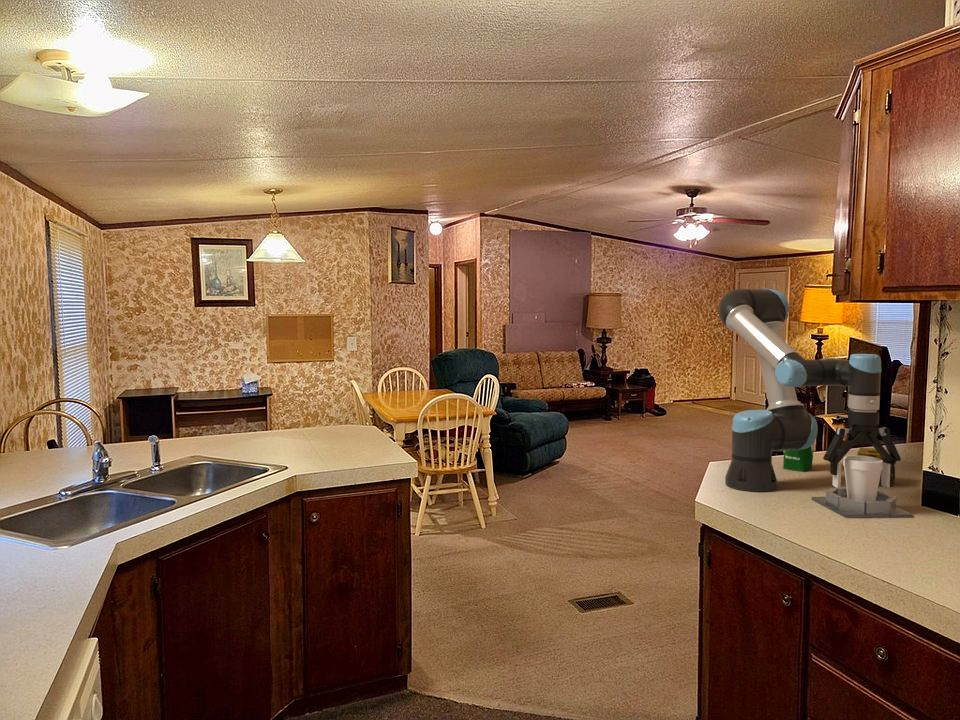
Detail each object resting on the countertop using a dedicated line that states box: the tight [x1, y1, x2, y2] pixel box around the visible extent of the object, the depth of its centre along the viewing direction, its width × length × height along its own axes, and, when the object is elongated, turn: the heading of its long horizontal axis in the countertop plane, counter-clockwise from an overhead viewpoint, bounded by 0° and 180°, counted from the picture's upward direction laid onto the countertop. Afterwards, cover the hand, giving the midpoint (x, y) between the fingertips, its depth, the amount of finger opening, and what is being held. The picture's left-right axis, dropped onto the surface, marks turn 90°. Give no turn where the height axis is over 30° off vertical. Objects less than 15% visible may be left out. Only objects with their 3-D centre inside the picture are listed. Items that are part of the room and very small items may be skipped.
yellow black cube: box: [857, 447, 896, 488], centre depth 217 cm, size 10×10×10 cm
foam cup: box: [842, 454, 883, 501], centre depth 188 cm, size 10×9×13 cm
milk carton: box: [782, 410, 814, 473], centre depth 235 cm, size 9×9×20 cm
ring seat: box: [811, 486, 915, 519], centre depth 188 cm, size 18×18×4 cm
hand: (860, 486), depth 188 cm, fingers open, 13 cm apart
